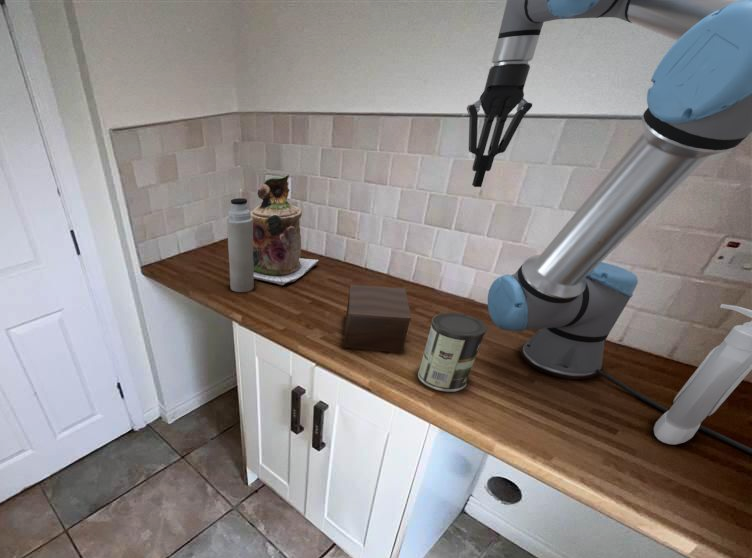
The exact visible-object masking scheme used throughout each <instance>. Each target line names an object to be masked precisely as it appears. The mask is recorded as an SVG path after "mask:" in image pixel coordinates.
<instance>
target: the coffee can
mask: <svg viewBox="0 0 752 558" xmlns="http://www.w3.org/2000/svg"><path fill="white" fill-rule="evenodd" d="M487 330H488V327H487V325H486V323H485V322H484V321H482V320H481V319H479V318H477V317H474V316H471V315H468V314H464V313H457V312H443V313H438V314H436V315H435V316H433V317H432V319H431V326H430V329H429V332H428V337H427V340H426V343H425V348H424V352H423V355H422V359H421V361H420V366H419V369H418V372H417V377H418V380H419V381H420V382H421V383H422V384H423V385H425V386H427V387H429V388H430V389H432V390H436V391H440V392H447V393H452V392H454V393H455V392H459V391H462V390H463V389H464V388H466V386H467V383H468V380H469V377H470V374H471V371H472V368H473V366H474V363H475V360H476V358H477V355H478V352H479V349H480V347H481V344H482V341H483V339H484V336H485V334H486V333H487Z"/></svg>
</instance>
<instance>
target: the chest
mask: <svg viewBox="0 0 752 558" xmlns="http://www.w3.org/2000/svg"><path fill="white" fill-rule="evenodd" d="M349 295H350V290H349V291H348V296H349ZM347 300H348V301H347V307H346V314H345V323H344V338H343V348H344V349H351V350H352V349H353V350H365V351H374V352H385V353H395V354H403V351H404V347H405V342H406V338H407V333H408V330H409V326H410V322H411V321H404V320H391V319H378V318H365V317H352V316H348V310H349V298H348V299H347Z"/></svg>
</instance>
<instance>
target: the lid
mask: <svg viewBox="0 0 752 558" xmlns="http://www.w3.org/2000/svg"><path fill="white" fill-rule="evenodd" d="M349 291H350V295H349V294H348V299H349V310H348V316H352V317H365V318H378V319H391V320H404V321H410V322H411V321H412V315H411V310H410V306H409V305H410V304H409V301H408V295H407V291H406V288H405V287H392V286H391V287H389V286H375V285H373V286H372V285H357V284H350V285H349Z"/></svg>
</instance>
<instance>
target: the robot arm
mask: <svg viewBox="0 0 752 558" xmlns="http://www.w3.org/2000/svg"><path fill="white" fill-rule="evenodd" d="M505 3H506V4H505V8H504V12H503V15H502V19H501V24H500V27H499V32H498V37H497V41H496V43H495V47H494V51H493V55H492V60H491V63H492V64H493V66H491V67H490V68H489V70H488V74H487V78H486V82H485V86H484V89H483V92H482V93H481V95H480V97H479V99H478V100H476V101H474V102H473V103H472V104H468V105H467V107H466V112H467V114H468V117H469V121H468V122H469V123H468V152H470V153H471V154H474V161H473V164H472V171H473V172H475V173H474V177H473V180H472V184H471V186H473V187H474V188H482V186H483V182H484V179H485V176H486V172H490V171H491V170H492V166H493V163H494V159H495V157H496V156H497V155H499V154H503V153H505V151H506V150H507V148H508V146H509V144H510V142H511V140H512V139H513V137H514V136H515V134H516V131H518V128H519V126H520V124H521V122H522V120H523V119H524V116H525V115H526V114H527V113H528V112H529V111H530V110H531V109H532V108H533V103H532V102H529V101H528V100H526V99H525V98H524V97H525V93H524V88H525V85H526V82H527V78H528V76H529V72H530V69H531V66H530V64H529V62H530V61H532V60H533V59H534V56H535V53H536V49H537V45H538V42H539V38H540V35H541V32H542V28H543V26H544V23H546V22H550V21H555V20H556V21H557V20H571V19H574V20H575V19H599V18H614V19H615V18H616V19H620V20H622V21H625V22H626V23H627V22H628V23H631V24H634V25H637V26H639V27H642V28H644V29H647V30H649V31H651V32H655V33H656V34H659V35H662V36H665V37H666V38H669V39H672V40H675V42H674V44H673V45H671V47H670V48H669V49H668V51H667V52H666V53H665V55H664V56H663V57H662V59H661V60H660V62H659V63H658V65H657V66H656V68H655V70H654V72H653V74H652V76H651V79H650V82H651V83H652V86H651V87H650V88H648V89H647V94H646V104H647V108H646V110H645V111H644V112H643V113H642V115H641V122H642V123H641V124H642V132H641V133H640V135H639V136H638V137H637V138H636V139H635V140H634V142H632V144H631V145H630V147H629V148H628V149H626V151H625V153H624V154H622V156H621V157H620V159H619V160H618V161H617V162H616V163H615V165H614V166H613V167H612V168H611V169H610V170H609V172H608V173H607V174H606V175H605V177H604V178H603V179H602V180H601V181H600V183H599V184H598V185H597V186H596V188H595V189H593V191H592V192H591V193H590V195H588V197H587V198H586V199H585V201H584V202H583V203H582V204H581V205H580V206H579V208H578V209H577V210H576V212H574V214H572V217H570V218H569V220H568V221H567V222H566V223H565V224H564V226H563V227H562V228H561V230H560V231H559V232H558V233H557V235H556V236H555V237H554V238H553V239H552V240H551V242H550V243H549V244H548V245H547V247H546V248H545V249H544V250H543V252H542V253H541V254H535V255H532V256H530V257H528V258H526V259H525V260H524V262H523V263H522V264H521V265H520V267H519V268H518V269H517V270H516V271H515V272H514V273H513V274H504V275H501V276H498V277H497V278H495V279H494V280H493V282H492V283H491V285H490V287H489V290H488V293H487V310H488V314H489V317H490V319H491V321H492V322H493V324H494V325H495V326H496V327H498V329H500V330H503V331H507V332H509V331H516V332H522V331H530V330H537V331H536V332H534V334H533V335H532V336H531V337H530V338H529V339H528V340H527V341H525V344H524V345H523V347H522V348H521V350H520V351H521V352H520V355H521V358H522V359H523V361H524V362H525V363H526V364H527V365H529V366H530V367H531V368H533V369H535V370H537V371H539V372H542V373H544V374H547V375H549V376H552V377H555V378H561V379H566V380H573V381H574V380H576V381H577V380H578V381H579V380H581V381H582V380H588V379H592V378H594V377H596V376H597V375H599V376H602V377H603V378H605V379H607V380H608V381H610V382H611V383H613V384H615V385H616V386H618V387H619V388H621V389H623V390H624V391H626V392H628V394H629V393H630V394H631V395H633V396H634V397H636V398H638V399H639V400H641V401H643V402H644V403H647V404H648V405H650V406H653V407H654V408H656V409H657V410H660V411H661V412H664V413H665V412H667V411H669V410H670V408H667V407H665V406H663V405H662V404H660V403H658V402H656V401H655V400H652V399H650V398H648V397H647V396H645V395H643V394H642V393H640V392H638V391H636V390H634V389H632V388H631V387H629V386H628V385H626V384H625V383H623V382H621V380H618V379H617V378H615V377H613V376H612V375H610V374H608V373H606V372H604V371H603V370H602V366H603V359H604V350H605V343H606V340H607V338H608V336H609V335H610V333H611V332H612V330H613V328H614V327H615V325H616V323H617V321H618V319H619V318H620V316H621V315H622V313H623V311H624V310H625V308H626V306H627V304H628V303H629V301H630V299H631V298H632V297H633V295H634V291H635V290H636V288H637V285H638V283H639V280H638V279H639V278H638V276H637V275H636V274H635V273H634V272H632V271H630V270H628V269H626V268H624V267H620V266H618V265H614V264H611V263H608V262H603V261H604V260H605V259H606V258H607V257H608V256H609V255H610V254H611V253H613V251H614V250H616V248H617V247H619V246H620V244H622V242H623V241H625V240H626V239H627V237H629V235H631V233H632V232H633V231H634V230H635V229H636V228H638V227H639V226H640V224H642V223H643V222H644V221H645V220H646V219H647V218H648V217H649V216H650V215H652V213H653V212H654V211H655V210H656V209H657V208H658V207H659V206H660V205H661V204H662V203H663V202H664V201H665V200H666V199H667V198H668V197H669V196H670V195H671V194H672V193H673V192H674V191H676V189H677V188H678V187H680V185H681V184H683V182H685V180H687V178H688V177H689V176H691V175H692V174H693V172H695V171H696V170H697V169H698V168H699V167H700V166H701V165H702V163H704V162H705V161H706V160H707V159H708V158H709V157H710V156H713V155H717V154H722V153H726V152H729V151H732V150H733V149H735V148H737V147H738V146H739V145H740V144H741V143H742V142H743V141H744V140H745V139H746V138H747V137H749V135H750V134H752V0H506V2H505ZM481 108H482V111H483V113H484V118H483V124H482V127H481V131H480V135H479V139H478V124H479V123H478V121H479V116H478V115H479V114H478V113H479V112H480V110H481ZM515 108H516V112H515V113H514V115H513V117H512V118H511V121H510V123H509V125H508V127H507V129H506V130H505V132H504V134H503V131H504V127H505V124H506V121H507V119H508V116H509V115H510V113H511V112H512V111H513V110H514V109H515ZM495 117H496V119H495ZM494 120H496V121H495V125H494V129H493V132H492V136H491V139H490V143H489V146H488V150H487V154H485V151H486V147H487V144H488V142H489V141H488V140H489V137H490V133H491V130H492V126H493V123H494ZM502 135H503V136H502ZM698 430H699V431H701V432H703V433H706V434H707V435H709V436H712V437H714V438H716V439H718V440H721V441H722V442H724V443H726V444H729V445H731V446H733V447H735V448H737V449H740V450H742V451H744V452H746V453H748V454H750V455H752V448H751V447H750V446H747V445H745V444H743V443H740V442H738V441H736V440H734V439H732V438H729V437H728V436H725V435H724V434H721V433H719V432H717V431H715V430H713V429H711V428H708V427H706V426H704V425H702V424H700V427H699V429H698Z"/></svg>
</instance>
